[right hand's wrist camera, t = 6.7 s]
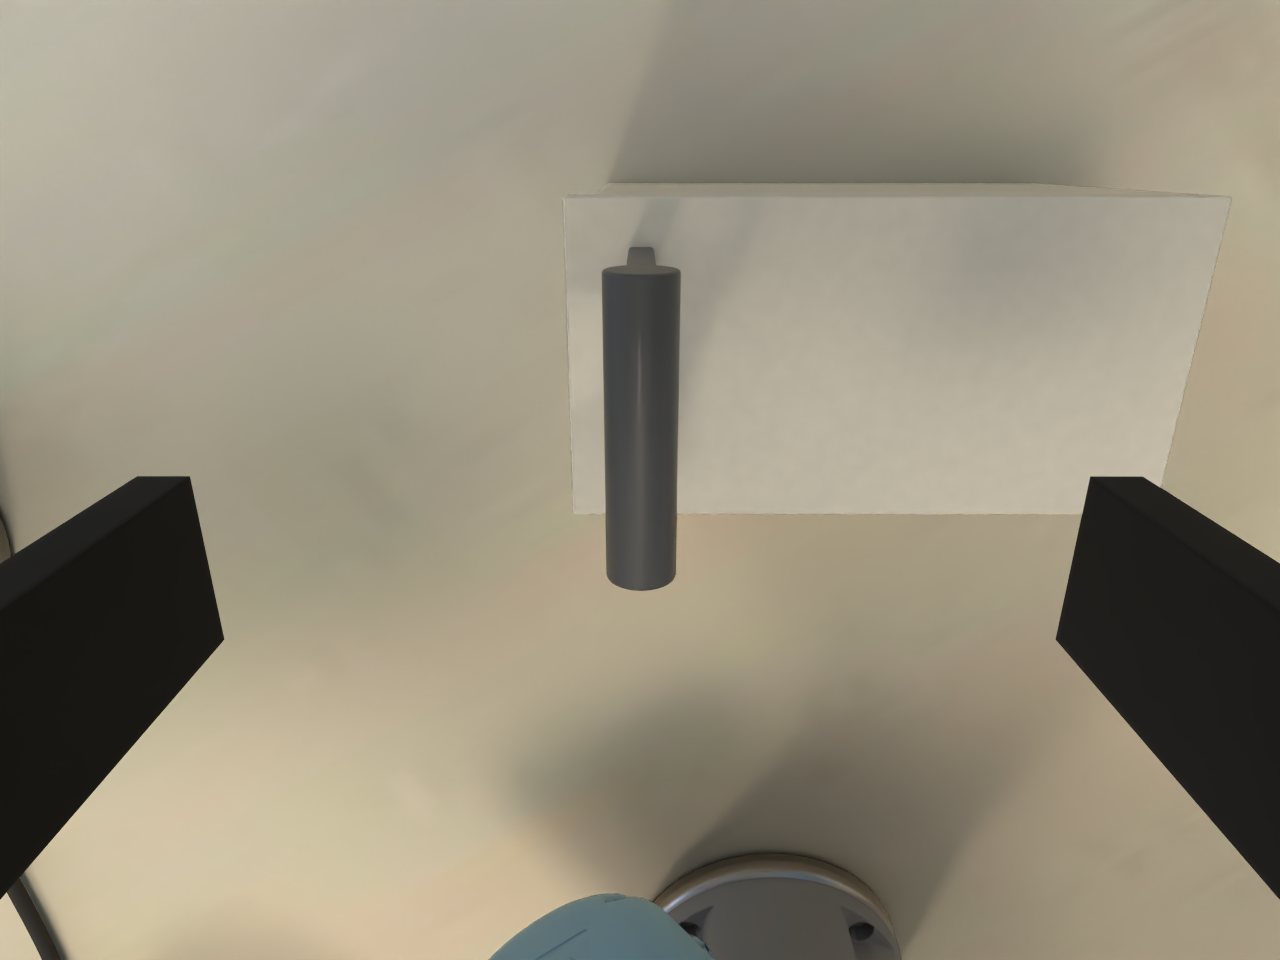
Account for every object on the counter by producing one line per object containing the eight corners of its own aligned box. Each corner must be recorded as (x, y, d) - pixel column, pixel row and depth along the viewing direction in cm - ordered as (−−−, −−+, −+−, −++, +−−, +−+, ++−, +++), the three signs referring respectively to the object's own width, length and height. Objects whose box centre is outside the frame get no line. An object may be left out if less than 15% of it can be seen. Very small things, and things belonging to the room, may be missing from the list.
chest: (610, 405, 37) (598, 499, 27) (607, 182, 33) (592, 194, 23) (997, 405, 37) (1132, 499, 27) (1033, 183, 33) (1203, 194, 23)
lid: (575, 499, 27) (549, 635, 19) (566, 194, 23) (530, 212, 16) (1133, 500, 27) (1328, 636, 19) (1205, 194, 23) (1476, 212, 16)
